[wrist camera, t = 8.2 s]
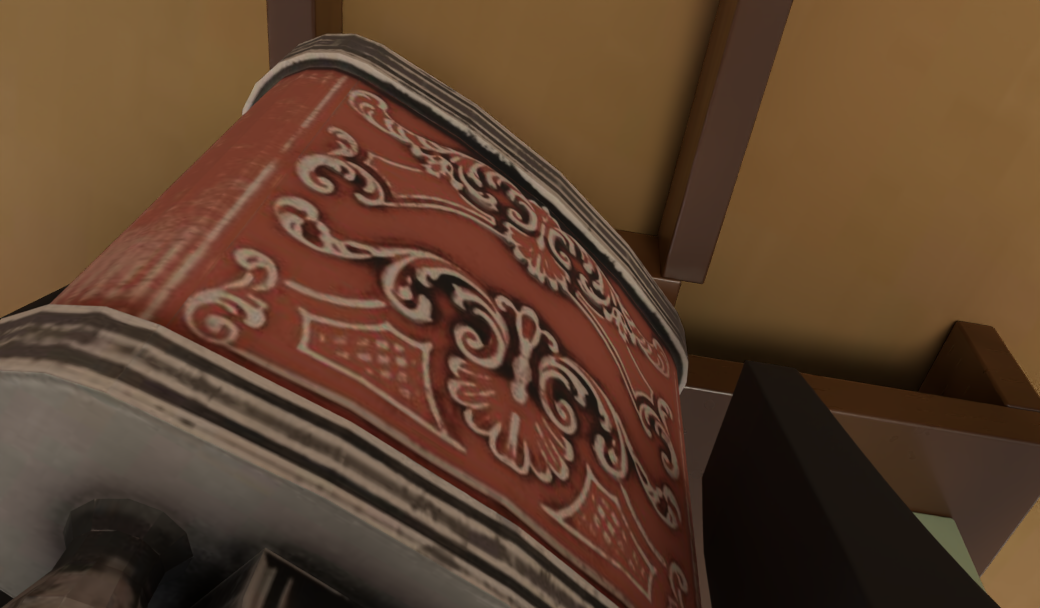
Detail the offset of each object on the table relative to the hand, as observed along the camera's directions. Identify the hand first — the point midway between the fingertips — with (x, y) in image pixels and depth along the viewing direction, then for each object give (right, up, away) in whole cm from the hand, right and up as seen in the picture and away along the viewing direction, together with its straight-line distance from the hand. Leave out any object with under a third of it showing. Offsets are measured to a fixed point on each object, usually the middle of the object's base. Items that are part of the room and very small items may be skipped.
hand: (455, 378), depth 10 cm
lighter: (0, +2, +3) cm, 4 cm away
